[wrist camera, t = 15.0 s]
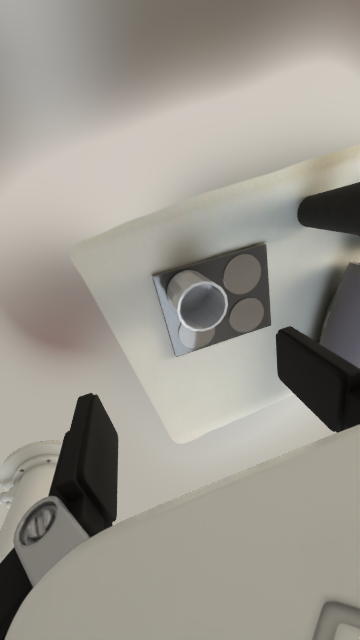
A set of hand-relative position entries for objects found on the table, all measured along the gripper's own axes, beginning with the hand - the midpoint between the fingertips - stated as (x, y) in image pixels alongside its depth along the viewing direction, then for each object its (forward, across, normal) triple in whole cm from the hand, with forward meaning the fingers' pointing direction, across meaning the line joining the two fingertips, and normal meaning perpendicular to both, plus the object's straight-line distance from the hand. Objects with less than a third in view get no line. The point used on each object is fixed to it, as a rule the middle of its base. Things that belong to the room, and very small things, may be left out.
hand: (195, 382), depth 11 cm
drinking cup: (+28, -30, -2) cm, 41 cm away
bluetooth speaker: (+28, -36, +20) cm, 50 cm away
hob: (+28, -11, +9) cm, 31 cm away
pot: (+27, -6, +5) cm, 28 cm away
